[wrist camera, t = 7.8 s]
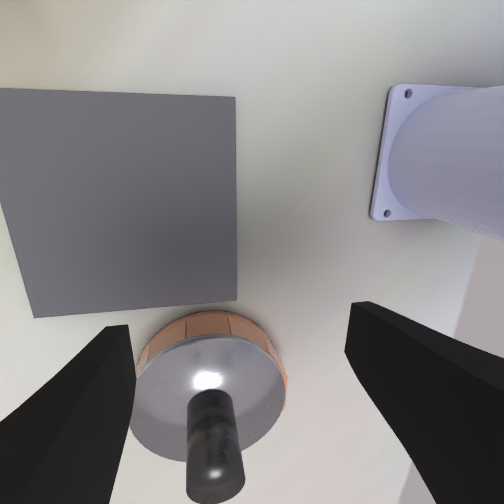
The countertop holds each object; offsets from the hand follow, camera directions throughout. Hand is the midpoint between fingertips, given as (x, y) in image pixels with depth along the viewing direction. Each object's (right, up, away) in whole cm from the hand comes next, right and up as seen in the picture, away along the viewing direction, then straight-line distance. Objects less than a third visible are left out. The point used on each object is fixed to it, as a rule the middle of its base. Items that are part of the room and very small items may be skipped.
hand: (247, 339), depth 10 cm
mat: (-7, +5, +7) cm, 11 cm away
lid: (-3, -6, +9) cm, 12 cm away
